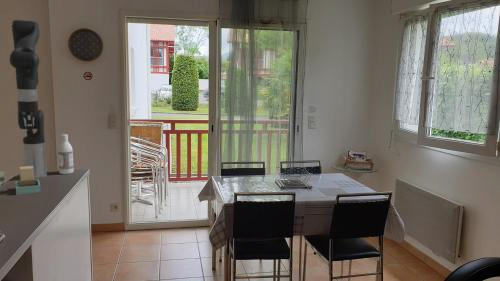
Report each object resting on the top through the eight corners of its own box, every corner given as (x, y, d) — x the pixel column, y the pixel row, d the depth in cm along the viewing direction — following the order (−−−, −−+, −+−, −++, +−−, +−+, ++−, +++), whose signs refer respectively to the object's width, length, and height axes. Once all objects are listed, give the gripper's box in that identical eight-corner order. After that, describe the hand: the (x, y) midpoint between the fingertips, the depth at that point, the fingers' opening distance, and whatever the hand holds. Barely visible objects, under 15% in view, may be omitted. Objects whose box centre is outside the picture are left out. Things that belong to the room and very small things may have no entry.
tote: (16, 189, 169) (15, 181, 169) (39, 186, 174) (38, 179, 173) (16, 196, 160) (15, 188, 159) (40, 193, 165) (40, 185, 164)
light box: (20, 178, 167) (19, 166, 166) (33, 176, 169) (33, 165, 169) (20, 180, 163) (19, 169, 162) (34, 179, 165) (33, 168, 164)
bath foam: (56, 173, 199) (54, 134, 196) (68, 170, 205) (66, 133, 201) (64, 174, 195) (62, 136, 192) (76, 172, 201) (74, 134, 198)
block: (20, 189, 168) (19, 177, 167) (35, 187, 171) (34, 176, 170) (20, 192, 163) (19, 181, 162) (36, 190, 166) (35, 179, 165)
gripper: (17, 98, 166) (19, 135, 169) (17, 101, 154) (20, 140, 157) (36, 98, 170) (39, 134, 173) (38, 101, 158) (41, 139, 161)
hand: (30, 137), depth 165 cm, fingers open, 8 cm apart
